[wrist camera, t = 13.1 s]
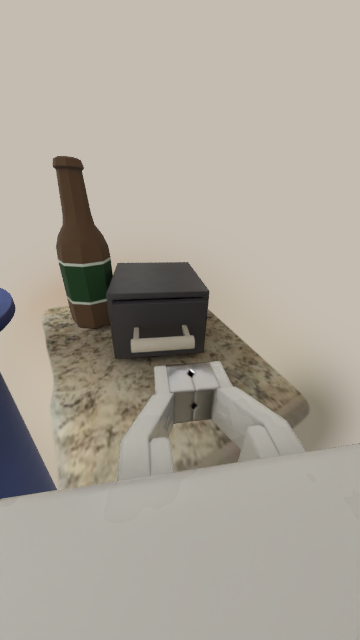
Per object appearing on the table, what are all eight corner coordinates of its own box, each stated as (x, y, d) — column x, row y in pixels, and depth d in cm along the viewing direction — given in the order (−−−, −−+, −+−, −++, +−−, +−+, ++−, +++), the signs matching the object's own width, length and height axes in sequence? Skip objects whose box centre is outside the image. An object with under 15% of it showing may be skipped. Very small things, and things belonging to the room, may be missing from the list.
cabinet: (203, 352, 32) (209, 290, 27) (115, 358, 30) (105, 294, 26) (185, 309, 45) (188, 262, 40) (123, 311, 43) (117, 262, 38)
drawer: (210, 373, 27) (217, 317, 23) (114, 382, 25) (105, 323, 21) (185, 310, 42) (186, 270, 38) (124, 312, 40) (120, 271, 37)
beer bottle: (63, 322, 39) (18, 154, 27) (96, 306, 45) (72, 163, 33) (94, 334, 36) (59, 149, 24) (126, 315, 42) (110, 161, 30)
